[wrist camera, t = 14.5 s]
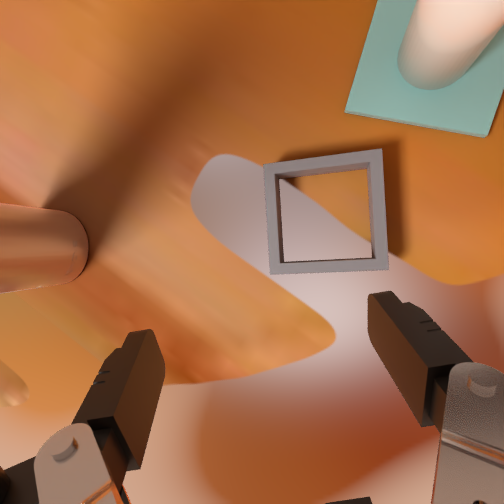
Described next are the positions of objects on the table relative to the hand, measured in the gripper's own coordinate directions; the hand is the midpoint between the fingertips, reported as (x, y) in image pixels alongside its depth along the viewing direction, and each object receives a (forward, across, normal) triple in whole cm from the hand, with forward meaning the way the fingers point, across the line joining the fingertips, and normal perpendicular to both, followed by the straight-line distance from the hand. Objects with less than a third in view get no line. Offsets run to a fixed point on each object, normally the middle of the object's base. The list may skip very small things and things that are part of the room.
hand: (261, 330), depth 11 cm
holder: (+19, -7, +3) cm, 21 cm away
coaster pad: (+22, -18, -9) cm, 30 cm away
